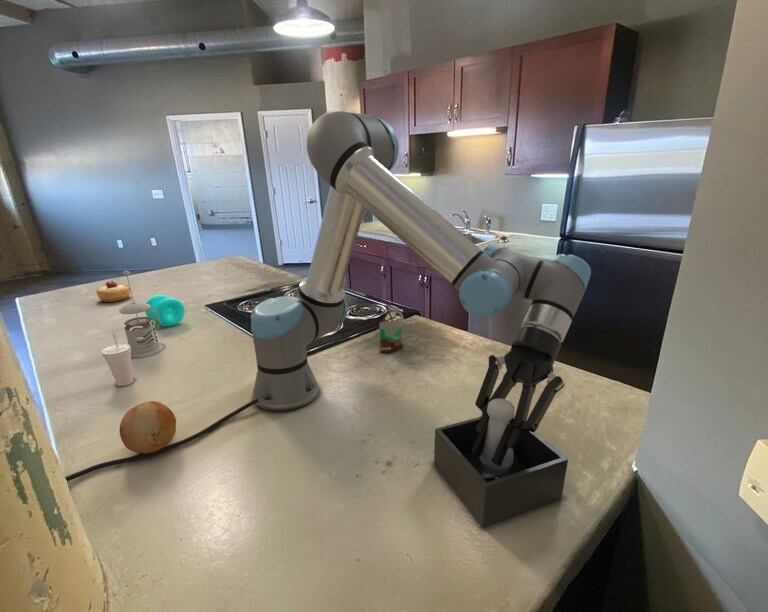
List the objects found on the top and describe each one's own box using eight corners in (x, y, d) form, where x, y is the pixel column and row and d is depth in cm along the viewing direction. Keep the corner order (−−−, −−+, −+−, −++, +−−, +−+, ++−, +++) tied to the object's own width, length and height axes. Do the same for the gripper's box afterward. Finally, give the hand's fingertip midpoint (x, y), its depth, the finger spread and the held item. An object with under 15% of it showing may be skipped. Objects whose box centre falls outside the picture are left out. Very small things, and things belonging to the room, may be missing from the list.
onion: (144, 471, 77) (131, 426, 73) (116, 453, 82) (102, 410, 78) (191, 442, 85) (181, 400, 81) (162, 427, 90) (152, 387, 86)
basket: (482, 528, 64) (485, 487, 61) (433, 464, 77) (434, 428, 74) (561, 498, 69) (568, 459, 66) (503, 443, 83) (506, 409, 80)
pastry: (92, 303, 172) (86, 282, 168) (113, 294, 182) (108, 274, 179) (117, 304, 170) (112, 283, 166) (138, 295, 181) (133, 275, 177)
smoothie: (144, 379, 110) (132, 330, 105) (121, 390, 105) (107, 339, 100) (128, 374, 113) (115, 326, 108) (105, 385, 107) (90, 335, 102)
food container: (400, 356, 120) (400, 324, 117) (379, 354, 121) (379, 322, 118) (406, 339, 132) (407, 309, 128) (387, 337, 133) (387, 308, 129)
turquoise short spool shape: (173, 316, 155) (168, 290, 151) (188, 321, 149) (183, 295, 146) (146, 324, 147) (140, 298, 144) (161, 330, 142) (154, 303, 138)
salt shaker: (474, 457, 75) (478, 394, 70) (505, 454, 75) (511, 392, 71) (484, 480, 69) (489, 414, 65) (517, 477, 70) (525, 411, 65)
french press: (119, 354, 125) (97, 273, 116) (152, 339, 135) (134, 264, 126) (142, 359, 121) (121, 276, 112) (175, 344, 131) (158, 266, 122)
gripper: (591, 357, 71) (538, 486, 66) (505, 333, 81) (453, 443, 76) (585, 338, 65) (526, 478, 60) (493, 315, 76) (436, 432, 71)
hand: (485, 458), depth 68 cm, fingers closed on salt shaker, 3 cm apart
